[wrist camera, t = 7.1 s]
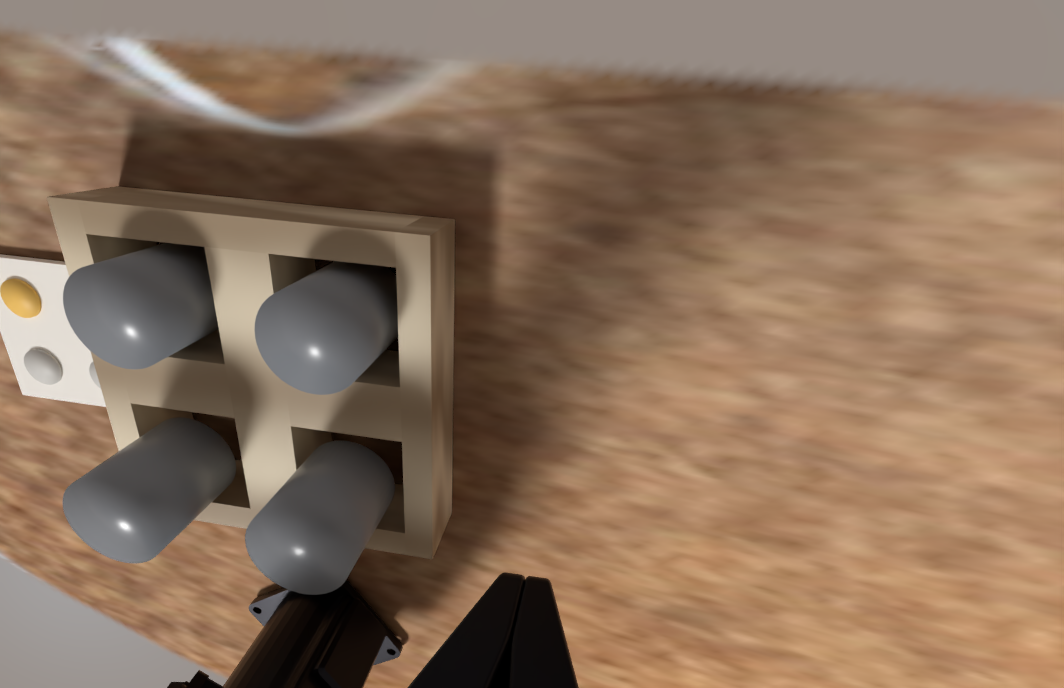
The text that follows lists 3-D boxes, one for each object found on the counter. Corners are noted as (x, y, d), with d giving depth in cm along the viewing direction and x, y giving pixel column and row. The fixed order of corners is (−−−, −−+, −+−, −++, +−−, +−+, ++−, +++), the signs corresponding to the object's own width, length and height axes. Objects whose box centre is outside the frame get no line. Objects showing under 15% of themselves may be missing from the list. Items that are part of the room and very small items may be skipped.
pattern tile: (160, 409, 26) (151, 415, 26) (30, 390, 27) (19, 396, 26) (126, 268, 23) (115, 272, 23) (-17, 252, 24) (-31, 255, 24)
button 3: (396, 522, 23) (353, 602, 19) (311, 509, 23) (253, 585, 20) (393, 447, 21) (345, 518, 18) (302, 434, 22) (237, 501, 18)
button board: (451, 512, 26) (432, 559, 23) (183, 471, 28) (135, 510, 25) (455, 219, 20) (430, 235, 18) (117, 186, 22) (46, 196, 19)
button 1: (410, 352, 22) (367, 401, 18) (321, 341, 22) (262, 387, 19) (407, 261, 21) (361, 294, 17) (312, 251, 21) (246, 281, 17)
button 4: (242, 498, 24) (172, 570, 20) (162, 485, 24) (79, 554, 20) (228, 423, 22) (150, 487, 18) (143, 411, 23) (49, 470, 19)
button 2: (249, 332, 23) (177, 375, 19) (166, 322, 23) (79, 362, 19) (235, 242, 21) (154, 270, 18) (147, 233, 22) (49, 259, 18)
